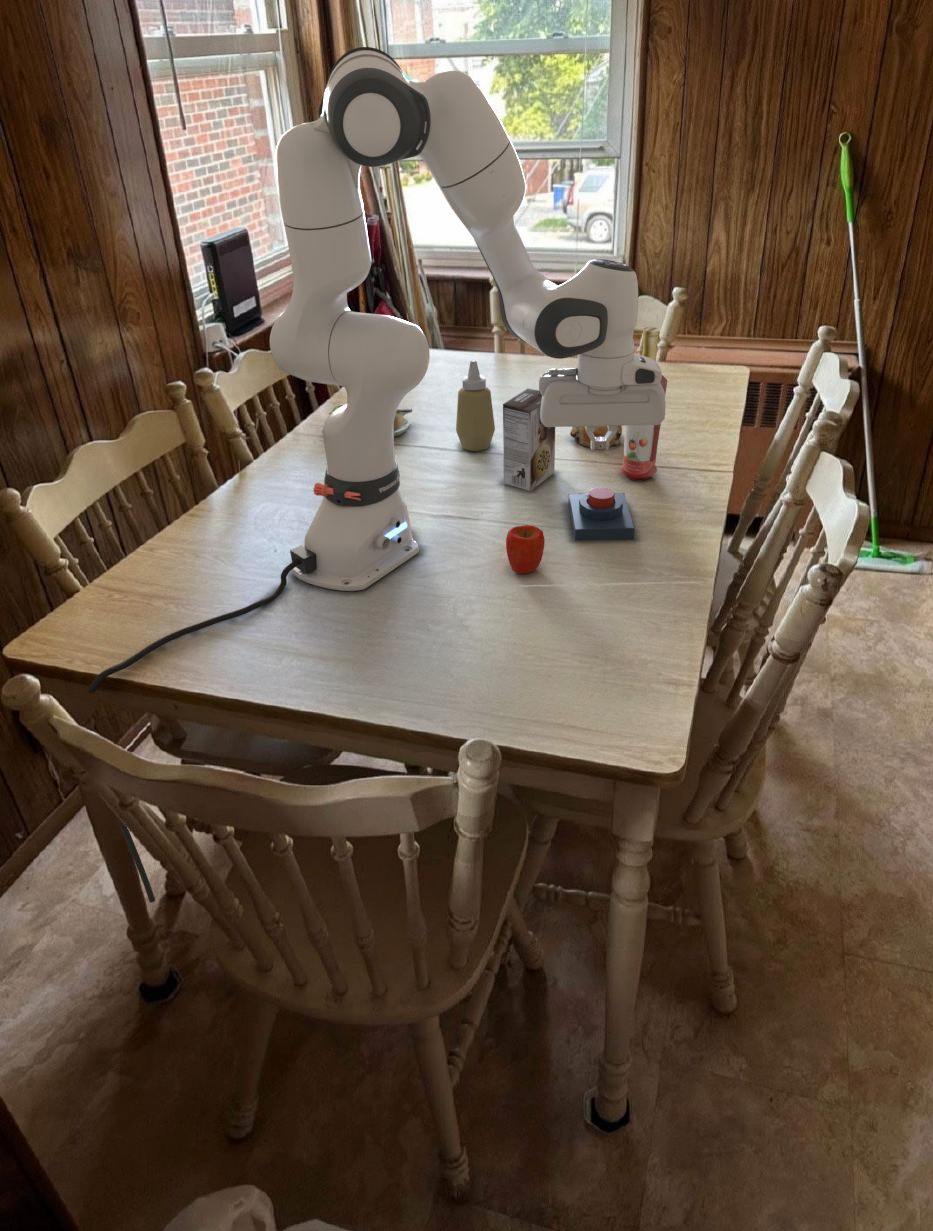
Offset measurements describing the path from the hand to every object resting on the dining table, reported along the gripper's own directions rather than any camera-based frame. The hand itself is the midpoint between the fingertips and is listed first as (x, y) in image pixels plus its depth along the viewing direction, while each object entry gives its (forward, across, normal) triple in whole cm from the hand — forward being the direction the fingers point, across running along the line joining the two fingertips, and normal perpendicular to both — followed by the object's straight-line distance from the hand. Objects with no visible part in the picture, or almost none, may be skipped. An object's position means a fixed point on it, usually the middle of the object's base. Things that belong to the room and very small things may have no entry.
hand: (599, 449), depth 148 cm
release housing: (+14, +1, 0) cm, 14 cm away
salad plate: (+13, -45, +43) cm, 64 cm away
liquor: (+13, +10, +17) cm, 24 cm away
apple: (+14, -13, -16) cm, 25 cm away
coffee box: (+14, -11, +17) cm, 24 cm away
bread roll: (+13, +4, +35) cm, 37 cm away
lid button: (+10, +1, 0) cm, 10 cm away
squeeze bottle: (+13, -21, +33) cm, 41 cm away
